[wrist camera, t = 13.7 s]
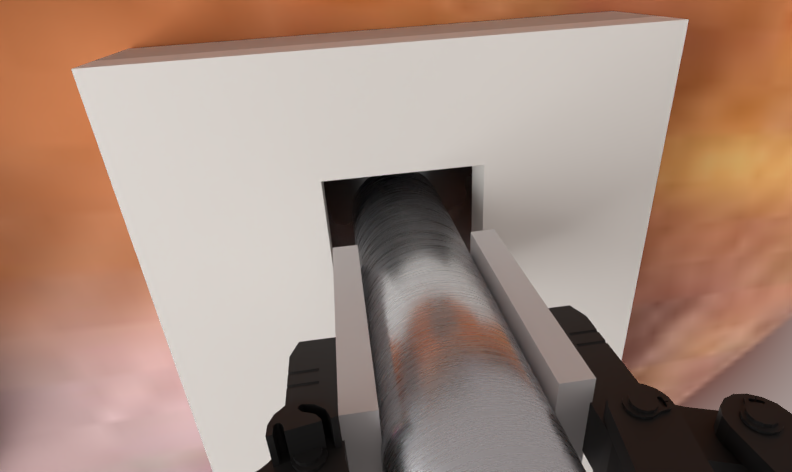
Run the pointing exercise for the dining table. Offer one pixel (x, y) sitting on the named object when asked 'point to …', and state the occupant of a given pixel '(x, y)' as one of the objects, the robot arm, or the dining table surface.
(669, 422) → the robot arm
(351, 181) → the headed peg
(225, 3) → the dining table surface
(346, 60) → the keyhole plate
